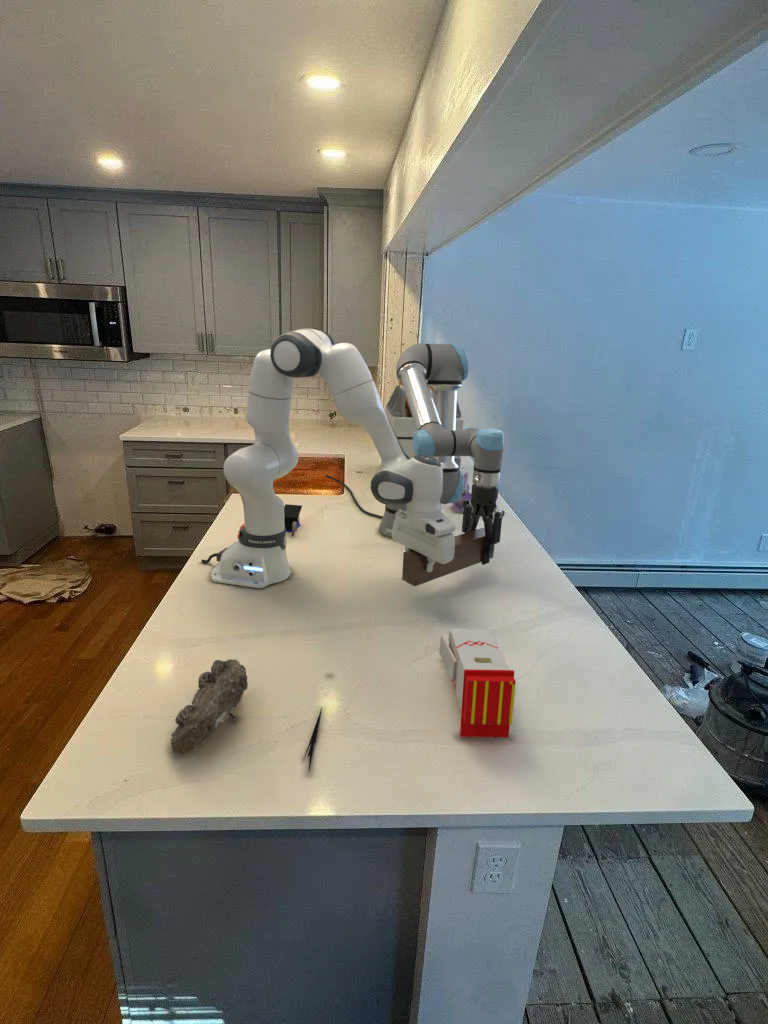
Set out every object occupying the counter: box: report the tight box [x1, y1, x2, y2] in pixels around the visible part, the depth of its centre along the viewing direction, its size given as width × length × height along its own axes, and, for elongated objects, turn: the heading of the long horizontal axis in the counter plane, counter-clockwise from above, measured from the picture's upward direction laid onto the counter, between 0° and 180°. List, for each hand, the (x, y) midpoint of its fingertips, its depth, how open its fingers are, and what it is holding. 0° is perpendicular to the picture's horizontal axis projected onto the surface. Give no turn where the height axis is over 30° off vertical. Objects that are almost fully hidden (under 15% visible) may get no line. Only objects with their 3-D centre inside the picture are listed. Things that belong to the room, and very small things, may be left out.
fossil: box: [170, 658, 249, 753], centre depth 106 cm, size 22×10×15 cm
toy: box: [438, 628, 517, 738], centre depth 117 cm, size 12×13×30 cm
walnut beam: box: [401, 527, 496, 587], centre depth 158 cm, size 5×32×8 cm, turn 131°
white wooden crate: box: [385, 384, 464, 471], centre depth 268 cm, size 34×33×41 cm
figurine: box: [451, 472, 472, 514], centre depth 225 cm, size 9×10×15 cm
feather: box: [301, 673, 332, 771], centre depth 108 cm, size 2×28×2 cm
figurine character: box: [284, 503, 303, 537], centre depth 197 cm, size 7×8×15 cm
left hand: (419, 566), depth 151 cm, fingers closed on walnut beam, 5 cm apart
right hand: (477, 560), depth 167 cm, fingers closed on walnut beam, 5 cm apart
